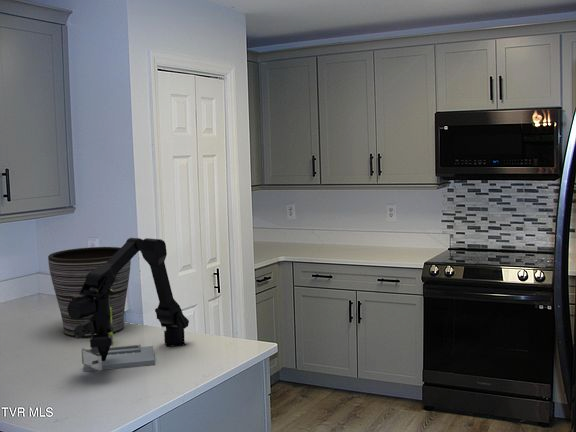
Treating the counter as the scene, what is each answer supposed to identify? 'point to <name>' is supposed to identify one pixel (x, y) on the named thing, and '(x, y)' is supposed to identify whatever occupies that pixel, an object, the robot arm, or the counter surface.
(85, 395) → the counter surface
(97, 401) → the counter surface
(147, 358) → the console
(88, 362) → the rack door
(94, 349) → the fader knob
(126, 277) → the planter pot
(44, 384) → the counter surface
